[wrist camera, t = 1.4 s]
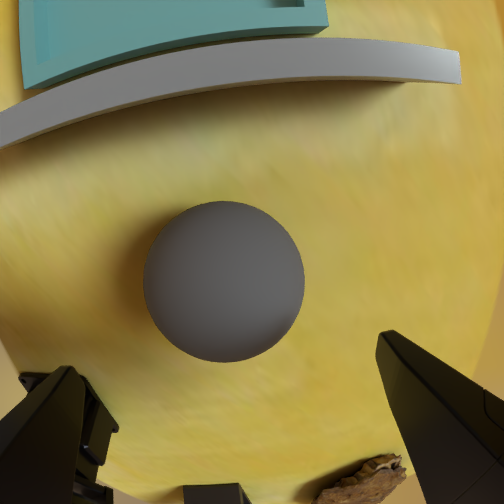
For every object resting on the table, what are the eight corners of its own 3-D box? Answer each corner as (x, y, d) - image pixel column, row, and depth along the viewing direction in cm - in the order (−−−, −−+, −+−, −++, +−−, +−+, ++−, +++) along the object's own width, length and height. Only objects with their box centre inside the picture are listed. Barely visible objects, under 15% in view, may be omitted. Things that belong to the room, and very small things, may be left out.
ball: (175, 306, 16) (158, 400, 11) (146, 194, 13) (97, 260, 8) (293, 292, 16) (320, 383, 11) (284, 173, 14) (321, 229, 8)
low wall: (19, 143, 12) (-34, 163, 8) (14, 119, 11) (-40, 134, 8) (407, 82, 12) (461, 84, 8) (405, 57, 11) (458, 51, 8)
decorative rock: (318, 457, 26) (302, 498, 34) (323, 493, 23) (305, 523, 30) (422, 438, 26) (382, 485, 34) (432, 469, 23) (387, 509, 30)
